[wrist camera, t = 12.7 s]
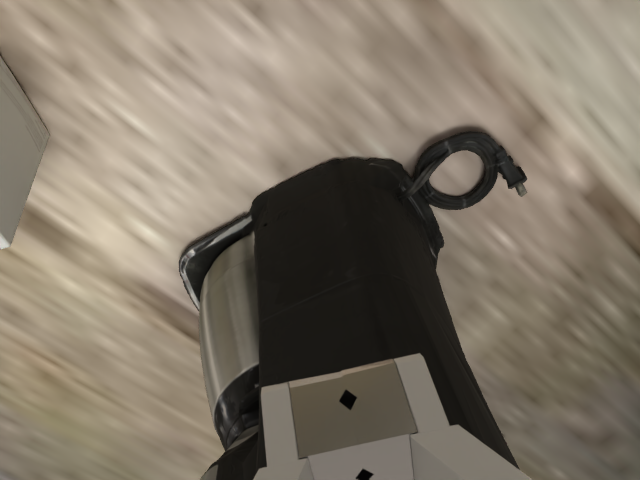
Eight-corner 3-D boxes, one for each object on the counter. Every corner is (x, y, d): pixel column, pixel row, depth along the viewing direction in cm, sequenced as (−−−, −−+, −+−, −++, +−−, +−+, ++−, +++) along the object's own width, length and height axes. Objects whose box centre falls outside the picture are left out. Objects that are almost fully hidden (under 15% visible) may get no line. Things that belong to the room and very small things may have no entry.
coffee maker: (142, 300, 60) (90, 718, 33) (350, 26, 47) (543, 344, 20) (323, 375, 70) (395, 739, 43) (533, 168, 57) (822, 502, 30)
